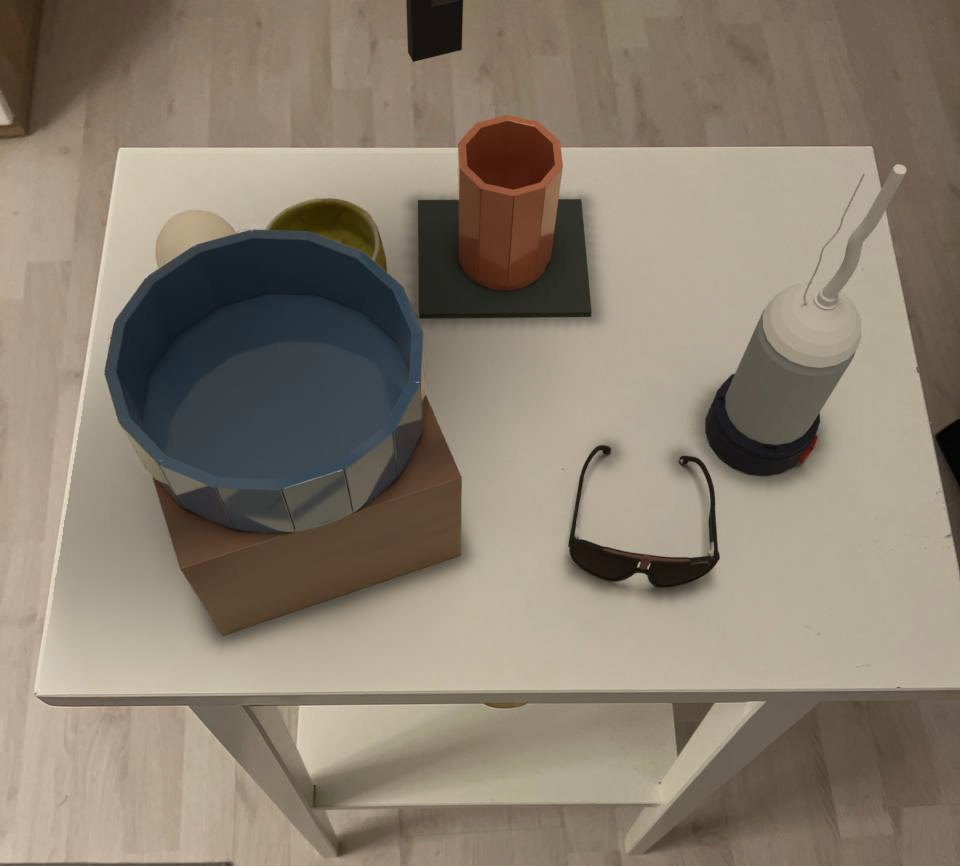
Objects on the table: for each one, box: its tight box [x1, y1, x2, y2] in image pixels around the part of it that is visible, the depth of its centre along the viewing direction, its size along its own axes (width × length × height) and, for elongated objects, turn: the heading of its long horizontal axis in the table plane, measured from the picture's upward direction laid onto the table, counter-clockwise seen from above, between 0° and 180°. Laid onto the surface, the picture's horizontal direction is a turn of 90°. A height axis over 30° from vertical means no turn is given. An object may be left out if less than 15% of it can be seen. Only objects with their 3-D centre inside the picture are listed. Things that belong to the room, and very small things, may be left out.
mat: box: [417, 198, 593, 319], centre depth 79 cm, size 14×12×1 cm
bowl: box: [103, 228, 427, 533], centre depth 59 cm, size 18×18×5 cm
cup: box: [457, 114, 564, 291], centre depth 75 cm, size 8×8×10 cm
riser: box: [109, 336, 463, 636], centre depth 66 cm, size 18×18×11 cm
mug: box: [264, 197, 388, 273], centre depth 74 cm, size 12×10×10 cm
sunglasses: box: [567, 444, 721, 589], centre depth 69 cm, size 10×12×5 cm
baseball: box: [155, 209, 238, 270], centre depth 75 cm, size 7×7×7 cm
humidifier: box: [704, 163, 908, 477], centre depth 63 cm, size 8×8×25 cm
